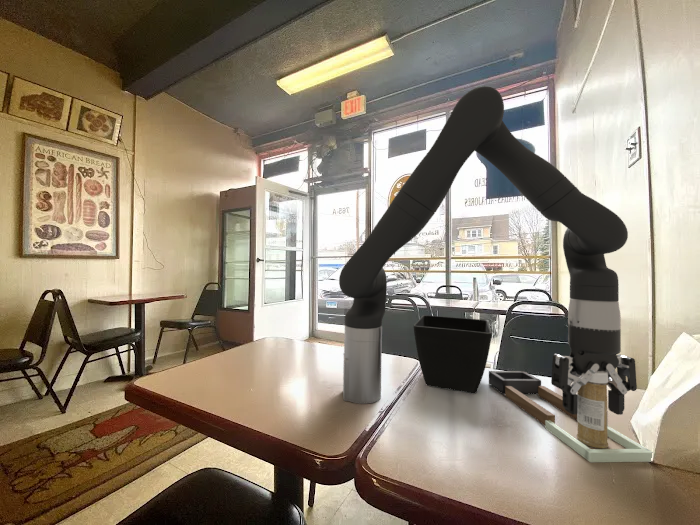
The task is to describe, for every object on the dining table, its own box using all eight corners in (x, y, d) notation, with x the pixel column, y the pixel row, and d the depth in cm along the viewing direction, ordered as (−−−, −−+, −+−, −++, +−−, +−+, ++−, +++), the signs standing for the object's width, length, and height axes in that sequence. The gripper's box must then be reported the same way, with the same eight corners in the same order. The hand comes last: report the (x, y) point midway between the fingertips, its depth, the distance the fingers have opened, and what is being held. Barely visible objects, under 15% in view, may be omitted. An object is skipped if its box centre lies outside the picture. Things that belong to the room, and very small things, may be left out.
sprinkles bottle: (612, 444, 54) (612, 370, 54) (602, 452, 51) (602, 374, 52) (581, 432, 58) (581, 363, 58) (571, 439, 55) (572, 367, 55)
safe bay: (590, 462, 49) (590, 453, 49) (545, 428, 59) (545, 420, 59) (654, 461, 49) (654, 452, 49) (598, 427, 60) (598, 420, 60)
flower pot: (491, 402, 70) (492, 331, 71) (411, 389, 77) (412, 324, 78) (487, 376, 88) (487, 319, 88) (422, 367, 95) (423, 315, 95)
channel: (547, 428, 59) (547, 415, 59) (505, 396, 74) (505, 385, 74) (595, 427, 60) (595, 415, 60) (543, 396, 75) (543, 386, 75)
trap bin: (502, 394, 75) (503, 380, 75) (488, 383, 82) (488, 371, 82) (541, 394, 76) (541, 380, 76) (523, 383, 83) (523, 371, 83)
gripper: (572, 327, 51) (572, 423, 50) (651, 328, 51) (651, 423, 51) (542, 320, 58) (541, 403, 58) (611, 321, 59) (611, 403, 59)
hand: (593, 412), depth 54 cm, fingers open, 8 cm apart
